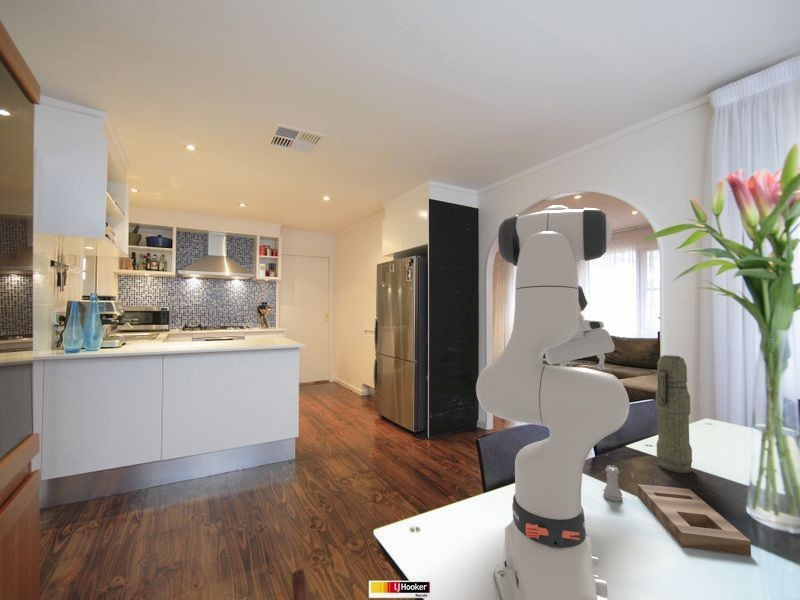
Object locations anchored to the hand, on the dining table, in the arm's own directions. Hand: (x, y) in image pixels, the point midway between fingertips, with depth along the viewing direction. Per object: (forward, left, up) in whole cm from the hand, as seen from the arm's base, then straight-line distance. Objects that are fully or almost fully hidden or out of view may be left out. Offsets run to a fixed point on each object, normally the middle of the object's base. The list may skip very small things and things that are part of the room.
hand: (586, 373), depth 111 cm
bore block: (-23, -15, -30) cm, 41 cm away
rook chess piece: (-15, -2, -31) cm, 34 cm away
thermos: (+11, -28, -31) cm, 43 cm away
